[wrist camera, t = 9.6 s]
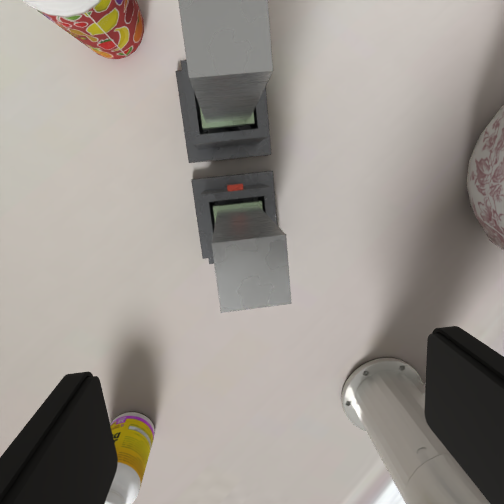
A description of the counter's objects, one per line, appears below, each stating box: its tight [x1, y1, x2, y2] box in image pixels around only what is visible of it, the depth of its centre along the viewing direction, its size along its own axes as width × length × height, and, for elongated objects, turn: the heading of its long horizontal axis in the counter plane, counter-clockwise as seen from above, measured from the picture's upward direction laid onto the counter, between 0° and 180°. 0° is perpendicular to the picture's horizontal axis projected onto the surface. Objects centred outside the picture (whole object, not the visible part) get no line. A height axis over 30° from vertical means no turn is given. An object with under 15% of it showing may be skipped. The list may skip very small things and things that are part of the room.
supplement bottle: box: [105, 412, 155, 504], centre depth 42 cm, size 7×7×13 cm
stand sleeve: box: [192, 171, 277, 264], centre depth 38 cm, size 10×10×9 cm
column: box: [212, 200, 291, 313], centre depth 27 cm, size 5×5×18 cm
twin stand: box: [176, 0, 273, 163], centre depth 27 cm, size 10×10×25 cm
